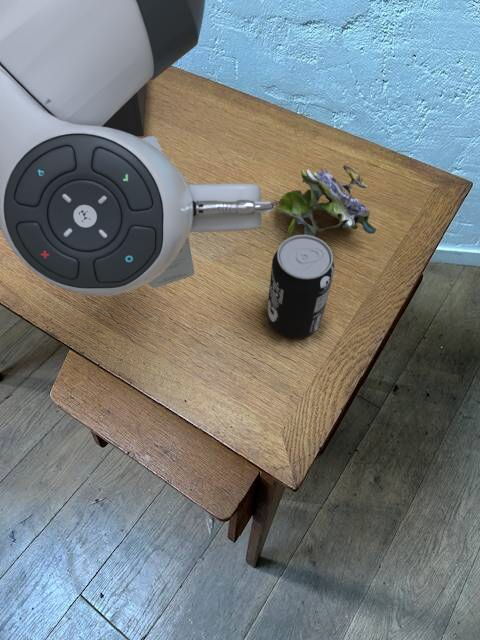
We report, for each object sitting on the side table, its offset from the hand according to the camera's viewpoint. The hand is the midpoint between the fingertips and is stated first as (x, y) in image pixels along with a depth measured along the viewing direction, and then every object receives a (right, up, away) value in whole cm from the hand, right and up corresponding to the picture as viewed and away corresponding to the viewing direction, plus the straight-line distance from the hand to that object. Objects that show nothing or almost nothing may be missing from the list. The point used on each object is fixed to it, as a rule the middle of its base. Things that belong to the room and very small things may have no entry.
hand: (151, 207), depth 53 cm
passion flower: (+19, +1, +21) cm, 29 cm away
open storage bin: (-13, +23, +34) cm, 43 cm away
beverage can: (+15, -11, +14) cm, 23 cm away
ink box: (0, -4, +6) cm, 7 cm away
